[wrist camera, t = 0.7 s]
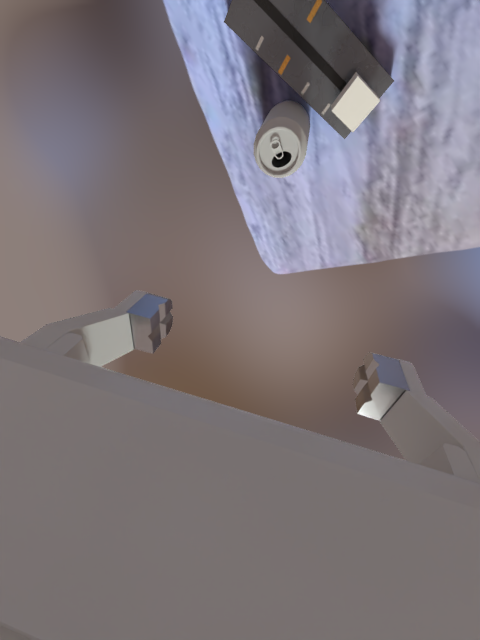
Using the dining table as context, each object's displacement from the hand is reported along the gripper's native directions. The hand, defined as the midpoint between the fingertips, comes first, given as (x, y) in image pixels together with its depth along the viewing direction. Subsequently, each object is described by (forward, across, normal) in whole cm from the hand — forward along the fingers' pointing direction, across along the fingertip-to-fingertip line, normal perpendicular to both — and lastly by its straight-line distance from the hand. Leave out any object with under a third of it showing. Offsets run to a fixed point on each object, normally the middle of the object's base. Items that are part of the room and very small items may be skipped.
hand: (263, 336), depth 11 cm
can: (+46, +5, -7) cm, 46 cm away
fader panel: (+43, +4, -16) cm, 46 cm away
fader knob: (+41, -3, -12) cm, 43 cm away
